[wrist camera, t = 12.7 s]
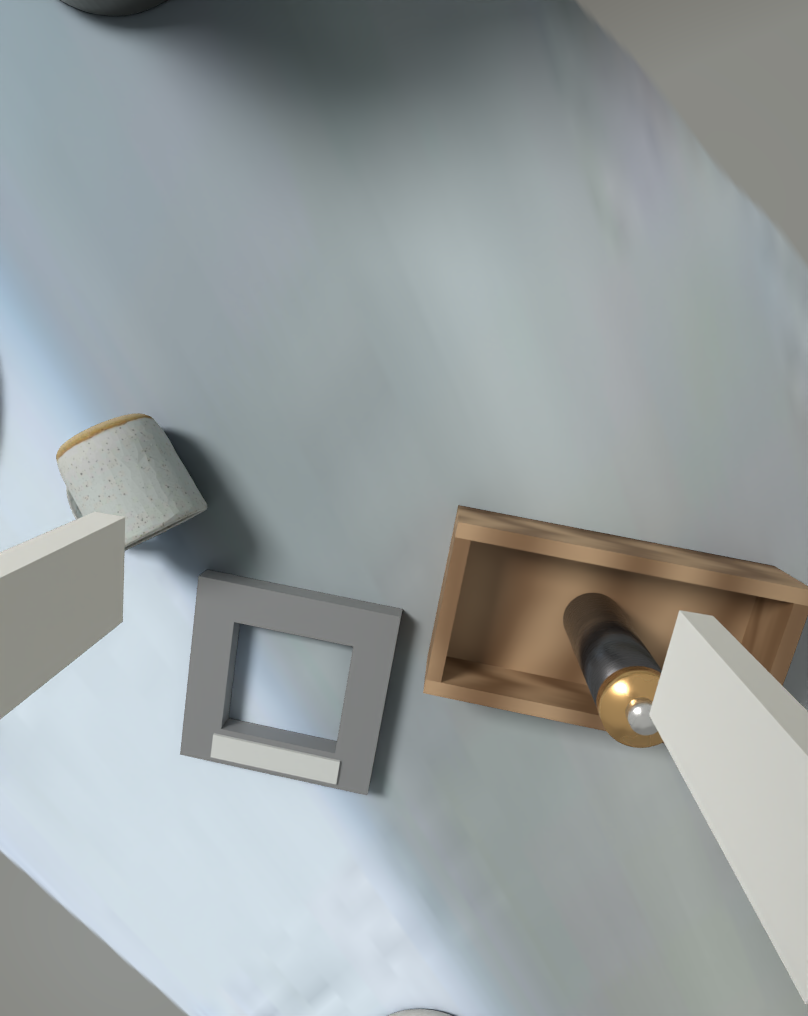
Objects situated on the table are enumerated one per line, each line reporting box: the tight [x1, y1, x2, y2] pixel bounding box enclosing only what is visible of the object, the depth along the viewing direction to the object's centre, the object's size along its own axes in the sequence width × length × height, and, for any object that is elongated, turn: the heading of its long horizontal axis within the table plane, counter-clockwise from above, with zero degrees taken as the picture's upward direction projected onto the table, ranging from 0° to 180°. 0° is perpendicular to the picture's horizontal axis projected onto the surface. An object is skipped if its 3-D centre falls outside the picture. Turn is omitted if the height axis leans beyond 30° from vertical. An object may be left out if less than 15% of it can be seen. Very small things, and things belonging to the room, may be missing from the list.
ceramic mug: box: [56, 414, 207, 551], centre depth 40 cm, size 10×8×7 cm
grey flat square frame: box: [180, 570, 403, 795], centre depth 45 cm, size 15×15×2 cm
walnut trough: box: [423, 505, 808, 743], centre depth 40 cm, size 22×12×5 cm, turn 80°
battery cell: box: [563, 593, 664, 748], centre depth 36 cm, size 4×4×13 cm
